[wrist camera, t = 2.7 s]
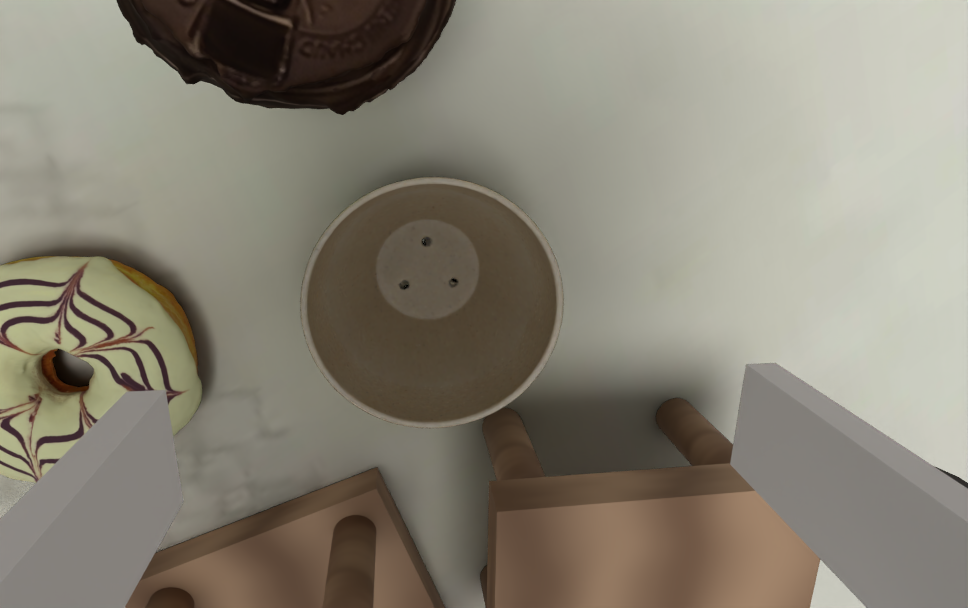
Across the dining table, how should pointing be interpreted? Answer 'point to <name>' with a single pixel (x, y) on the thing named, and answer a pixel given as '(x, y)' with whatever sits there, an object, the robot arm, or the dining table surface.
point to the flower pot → (431, 302)
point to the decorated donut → (84, 353)
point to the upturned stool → (298, 557)
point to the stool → (637, 530)
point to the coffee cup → (291, 46)
